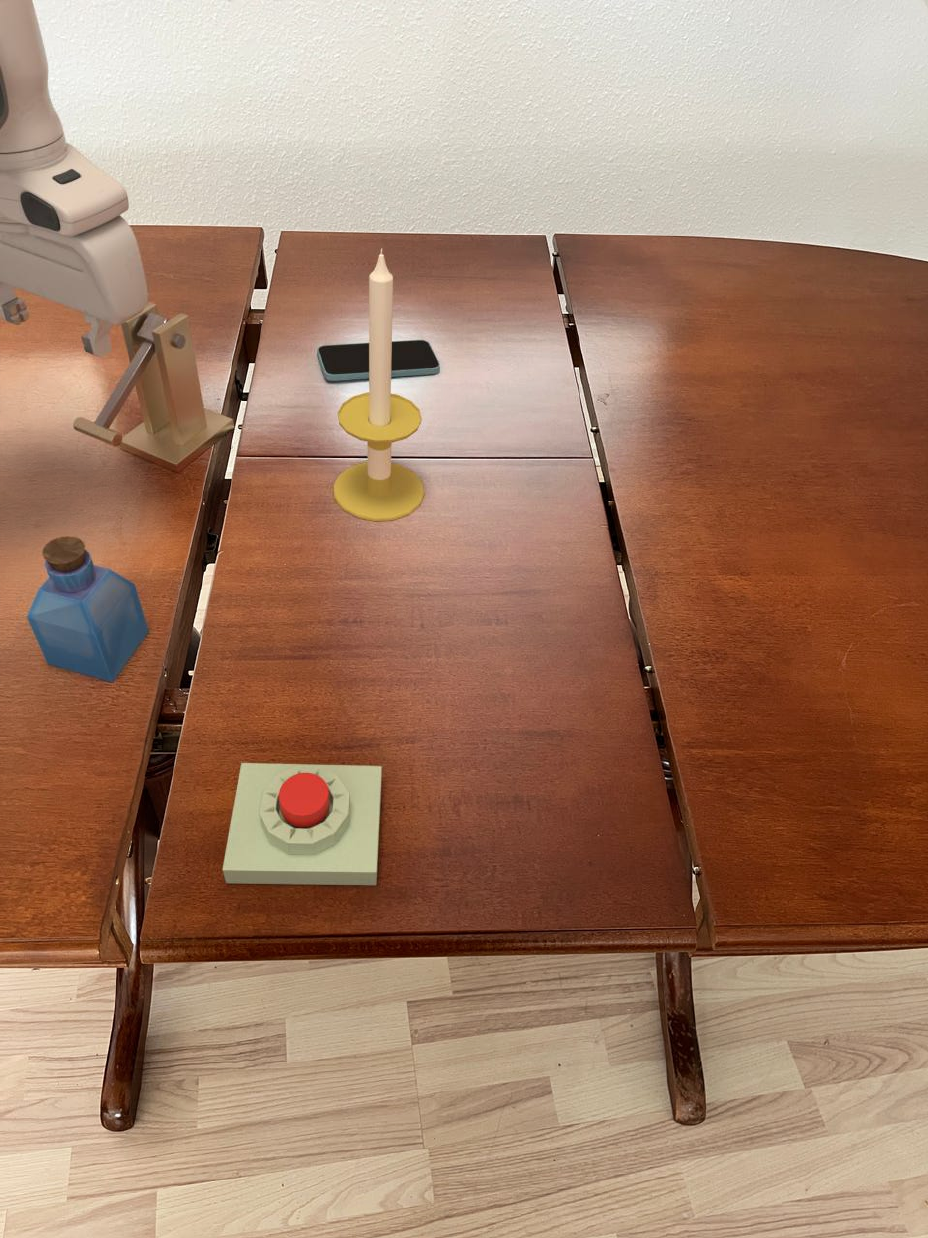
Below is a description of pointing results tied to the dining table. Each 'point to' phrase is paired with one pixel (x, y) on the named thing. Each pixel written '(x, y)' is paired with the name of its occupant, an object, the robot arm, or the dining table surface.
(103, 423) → the lever
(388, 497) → the candle
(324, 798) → the button
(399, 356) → the smartphone
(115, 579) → the perfume bottle
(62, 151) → the robot arm
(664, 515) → the dining table surface
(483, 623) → the dining table surface
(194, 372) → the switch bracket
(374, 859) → the control box
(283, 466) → the dining table surface
